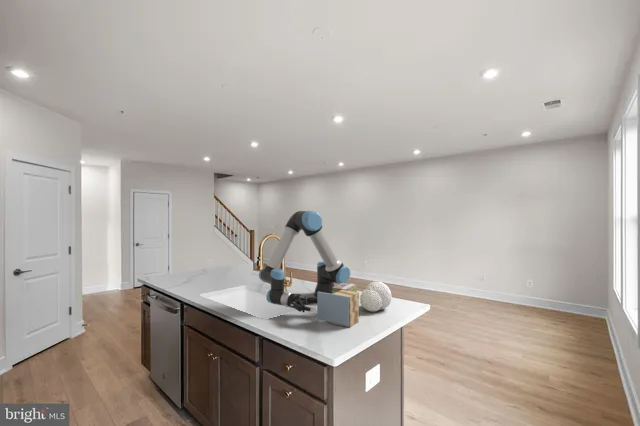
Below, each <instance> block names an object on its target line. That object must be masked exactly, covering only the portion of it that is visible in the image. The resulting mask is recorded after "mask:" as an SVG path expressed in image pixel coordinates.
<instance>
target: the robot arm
mask: <svg viewBox="0 0 640 426" xmlns="http://www.w3.org/2000/svg"><path fill="white" fill-rule="evenodd" d="M300 231H303V233H304V235H305V236H306V237H308V238H310V240H311V242H312V243H313V245H314V247H315V249H316V250H317V252H318V254H319V256H320V258H321V260H322V261H319V262H317V265H316V270H317V271H316V274H317V275H316V277H317V278H316V286H315V288H314V296H316V297H313V296H304V297H301V295H299V293H293V292H287V291H285V270H284V269H281V268H280V266H281V264H282V263H283V260H284V258H285V256H286V255H287V254H288V253H287V252H288V251H289V250H290V248H291V245H292V243H293V241H294V240H295V237H296V236H297V235H299V233H300ZM350 277H351V269H350V268H349V267H348V266H347V265H344V263H343V261H342V260H341V259H340V258H338V257H337V255H336V253H335V252H334V250H333V248H332V246H331V244H330V243H329V241H328V239H327V237H326V235H325V233H324V232H323V219H322V216H321V215H320V213H318V212H317V211H313V210H298V211H296V212H294V213H293V214H292V215H291V216H290V217H289V219H288V220H287V222H286V224H285V225H284V231H283V233H282V235H281V236H280V239H279V240H278V243H277V244H276V246H275V248H274V250H273V252H272V254H271V256H270V258H269V259H268V262H267V263H266V265H265V266H264V268H262V269H260V270H259V272H258V278H259V280H260V281H262V282H264V283H267V284H270V289H269V290H268V291H267V293H266V301H267V303H270V304H273V305H277V306H283V307H285V308H292V309H294V310H296V311H297V312H298V313H299V312H300V313H306V312H308V313H314V314H317V306H312V305H314V304H315V305H317V292H324V293H330V294H332V287H334V286H336V285H338V284H341V283H348V281H349V280H350ZM335 284H336V285H335Z"/></svg>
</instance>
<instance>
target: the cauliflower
mask: <svg viewBox="0 0 640 426" xmlns="http://www.w3.org/2000/svg"><path fill="white" fill-rule="evenodd" d="M392 297H393V296H392V292H391V289H390V288H389V286H388V285H387V284H385V283H383V282H381V281H372V282H370V283H369V284H368V285H367V286H366V287H365V289H363V291H362V292H361V294H360V295H359V304H360V305H361V307H362V308H363V309H364V310H366V311H368V312H373V313H374V312H377V311H379V310H380V311H381V310H384V309H386V308H388V307H389V306H390V304H391V302H392Z"/></svg>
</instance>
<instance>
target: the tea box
mask: <svg viewBox="0 0 640 426" xmlns="http://www.w3.org/2000/svg"><path fill="white" fill-rule="evenodd" d="M340 290H346V291H352V292H358V285H357V284H354V283H348V282H346V283H341V284H336V285H335V286H334V287H332V294H333V293H336V292H338V291H340Z"/></svg>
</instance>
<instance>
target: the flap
mask: <svg viewBox="0 0 640 426" xmlns="http://www.w3.org/2000/svg"><path fill="white" fill-rule="evenodd" d="M316 297H317V304H316V305H317V306H316V307H317V313H316V319H317V320H318V321H319V320H320V321H325V322H329V323H332V322H333V323H337V324H341V325H346V326H349V297H347V296H341V295H335V294H330V293H324V292H317V296H316ZM341 325H340V326H341Z"/></svg>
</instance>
